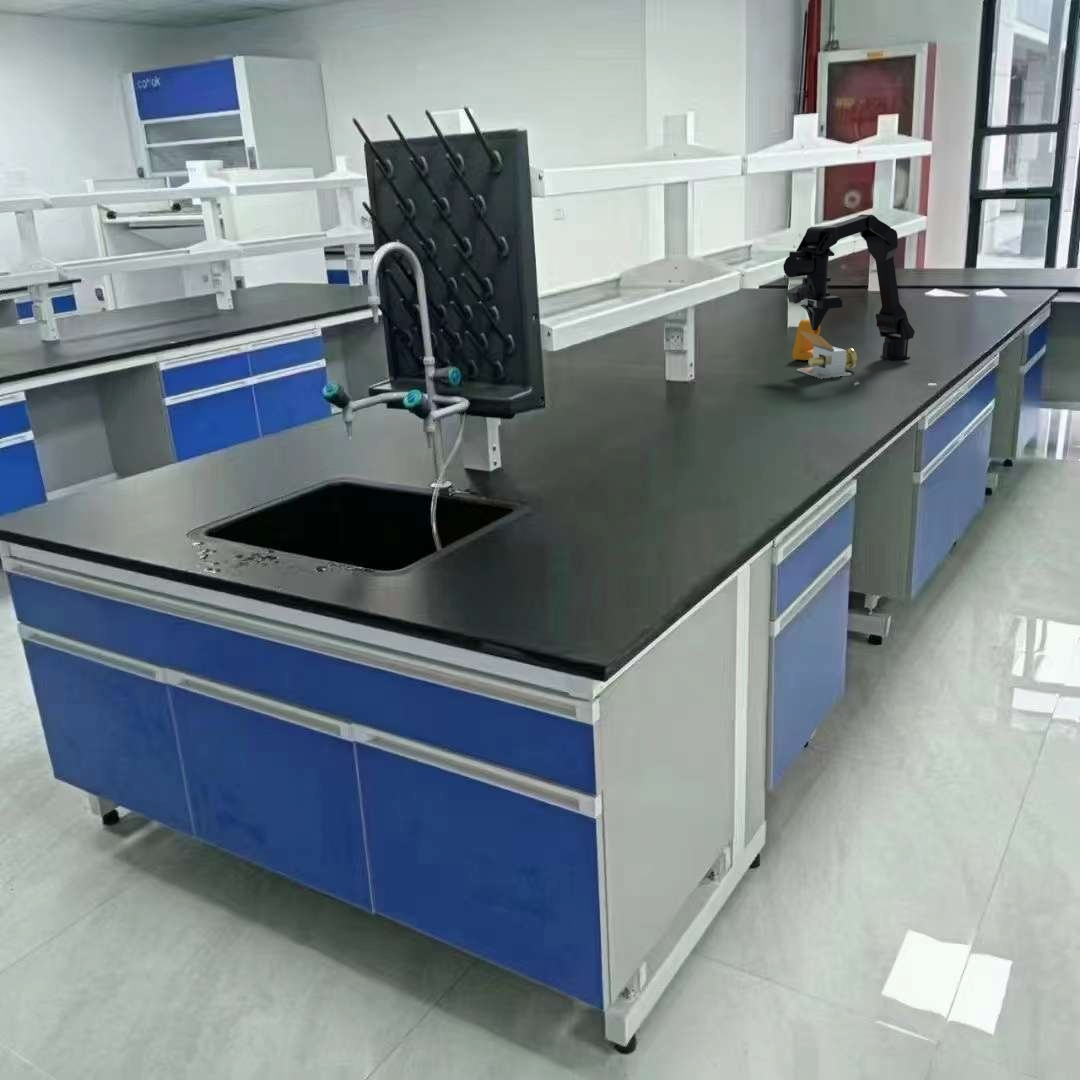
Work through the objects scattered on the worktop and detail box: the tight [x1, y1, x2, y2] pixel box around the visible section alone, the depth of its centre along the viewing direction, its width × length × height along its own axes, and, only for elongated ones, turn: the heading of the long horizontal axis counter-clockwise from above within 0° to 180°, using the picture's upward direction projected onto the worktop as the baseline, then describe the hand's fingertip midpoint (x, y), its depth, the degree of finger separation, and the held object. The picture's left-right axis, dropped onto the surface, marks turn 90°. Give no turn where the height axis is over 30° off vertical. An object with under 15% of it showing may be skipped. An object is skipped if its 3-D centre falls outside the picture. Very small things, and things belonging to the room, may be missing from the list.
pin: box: [807, 347, 858, 369], centre depth 299 cm, size 14×6×6 cm, turn 107°
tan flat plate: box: [800, 331, 834, 352], centre depth 296 cm, size 6×10×1 cm
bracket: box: [792, 318, 821, 361], centre depth 318 cm, size 11×7×12 cm, turn 138°
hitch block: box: [796, 345, 853, 380], centre depth 299 cm, size 10×13×7 cm
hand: (814, 330), depth 294 cm, fingers closed
